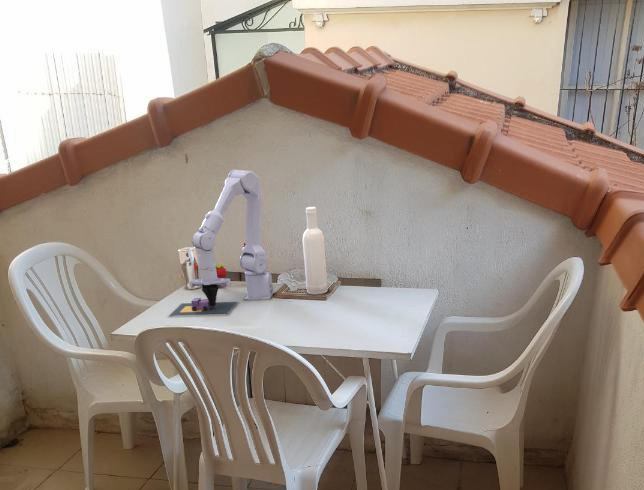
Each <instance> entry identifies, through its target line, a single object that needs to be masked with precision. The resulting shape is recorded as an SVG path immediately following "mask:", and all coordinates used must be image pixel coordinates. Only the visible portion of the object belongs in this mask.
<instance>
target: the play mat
mask: <svg viewBox="0 0 644 490" xmlns="http://www.w3.org/2000/svg"><path fill="white" fill-rule="evenodd" d="M237 302H238V301H221V302H219V301H216V305H215V306H212V307H211V308H210V310H206V311H205V310H196V311H192V308H191V307H192V302H189V303H187V302H186V303H181V304H179V306H178V307H177V308H176V309H175V310H174V311H172V313H170V314H169V317H176V316H178V317H179V316H206V315H207V316H209V315H213V316H214V315H228V314H229V312H230V311H231V310H232V309H233V308H234V307H235V306H236V304H237Z"/></svg>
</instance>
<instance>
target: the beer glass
mask: <svg viewBox="0 0 644 490" xmlns="http://www.w3.org/2000/svg"><path fill="white" fill-rule="evenodd" d="M178 257H179V262H180V267H181V270H182V272H183V275H184V279H185V289H186V290H197V289H200V288H202V286H193V287H190V285H189V281H190V280H196V279H200V277H199V264H198V257H197V252H196V248H195V247H194V246H188V247H187V246H186V247H181V248H179V249H178Z"/></svg>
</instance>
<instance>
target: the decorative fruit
mask: <svg viewBox="0 0 644 490" xmlns="http://www.w3.org/2000/svg"><path fill="white" fill-rule="evenodd" d="M218 262H219V261H217V262H216V263H215V265H216V272H217V278H226V277H227V269H226V268H225V267H224V265H223V264H218ZM219 287H222V285H219Z"/></svg>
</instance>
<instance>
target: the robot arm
mask: <svg viewBox="0 0 644 490" xmlns="http://www.w3.org/2000/svg"><path fill="white" fill-rule="evenodd" d="M239 195H242V196H243V197H244V198H245V199H246V209H245V210H246V212H245V213H246V214H245V215H246V216H245V217H246V218H245V244H244V246H243V247H242V249H241V255H240V258H239V266H240V268H241V269H242V270H243V273H244V278H245V286H246V294H247V295H246V296H245V297H244V300H266V299H267V300H268V299H271V297H272V296H273V294H274V293H275V292H274V286H273V277H272V273H271V272H268V271H267V272H266V270H267V268H268V260H267V258H266V251H265V250H264V248H263V247H262V228H263V227H262V226H263V224H262V223H263V191H262V188H261V185H260V177H259V176H258V175H257V174H256V173H255V172H254V171H253V170H243V169H234V168H233V169H232V170H230V171H229V173H228V175H227V177H226V178H225V180H224V187H223V188H222V191H221V193H220V195H219V198H218V200H217V202H216V204H215V206H214V209H213V210H211V211H208V212H207V213H205V215H204V220H203V221H202V224H201V226H200V227H198V231H196V232H195V233H194V234H193V236H192V240H191V244H192V247H194V248H196V252H197V257H198V271H199V275H200V278H199V279H196V280H190V281H189V285H190V287H193V286H201V291H202V292H203V294H204V295H205V297H206V299H208V300H209V303H210V305H211V306H215V305H216V303H217V294H218V291H219V288H220V286H219V285H221V286H230V285H231V284H232V283H231V282H232V281H231V278H226V277H225V278H217V272H216V259H215V252H214V247H215V246H216V242H217V241H216V238H217V235H218V234H219V233H218V232H219V231H220V229H221V228H222V225H223V223H224V214H225V212H227V210H228V208H229V206H230V205H231V203H232V202H233V200H234V198H235V197H236V196H239Z"/></svg>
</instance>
